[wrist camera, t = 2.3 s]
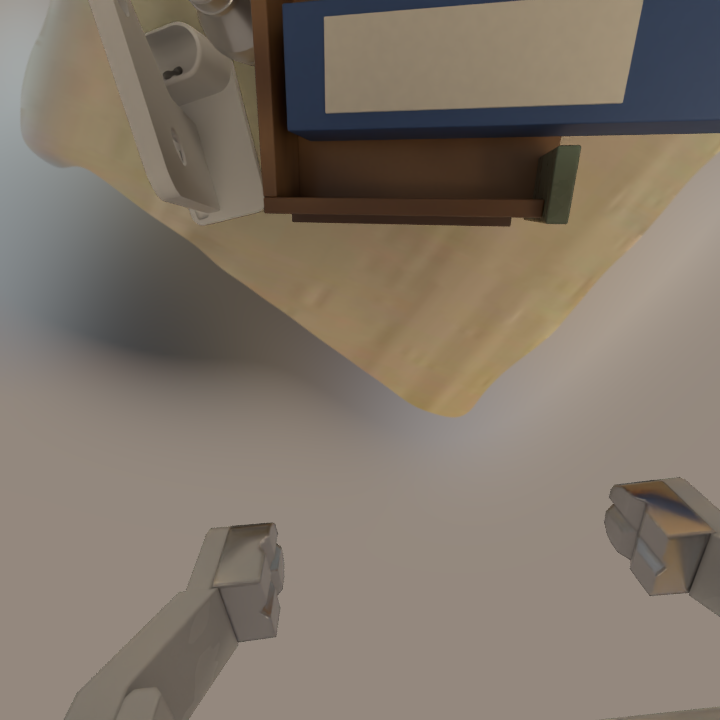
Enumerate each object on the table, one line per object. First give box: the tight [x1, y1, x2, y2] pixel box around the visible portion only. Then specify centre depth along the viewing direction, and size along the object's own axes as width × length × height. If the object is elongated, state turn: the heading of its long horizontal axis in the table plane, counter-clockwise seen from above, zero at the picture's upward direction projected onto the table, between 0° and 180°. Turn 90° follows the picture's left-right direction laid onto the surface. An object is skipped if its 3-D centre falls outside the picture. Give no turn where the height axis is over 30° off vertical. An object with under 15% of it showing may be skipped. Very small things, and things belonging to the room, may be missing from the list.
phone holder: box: [88, 0, 264, 225], centre depth 38 cm, size 17×10×18 cm, turn 12°
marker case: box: [282, 0, 720, 141], centre depth 16 cm, size 4×20×3 cm, turn 90°
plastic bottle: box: [189, 0, 255, 67], centre depth 33 cm, size 6×7×20 cm
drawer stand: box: [250, 0, 581, 226], centre depth 29 cm, size 12×13×30 cm
